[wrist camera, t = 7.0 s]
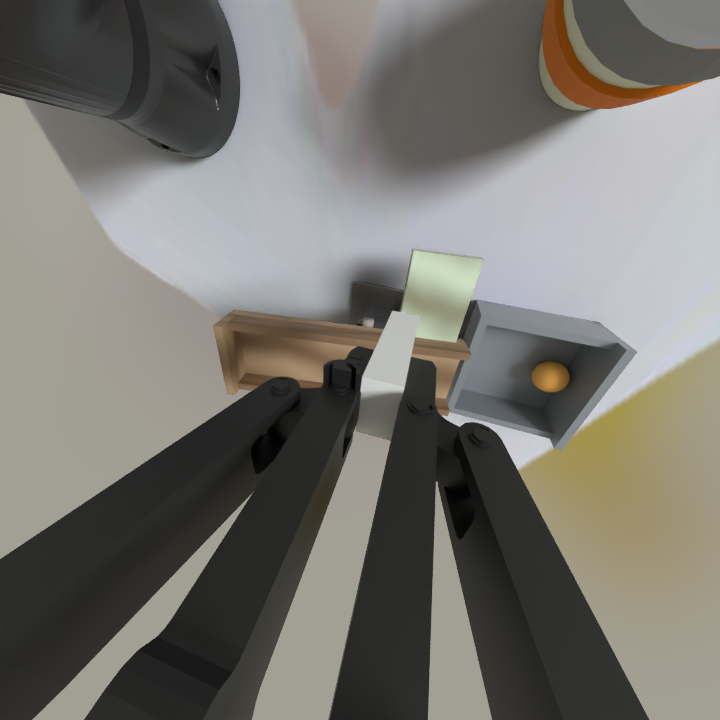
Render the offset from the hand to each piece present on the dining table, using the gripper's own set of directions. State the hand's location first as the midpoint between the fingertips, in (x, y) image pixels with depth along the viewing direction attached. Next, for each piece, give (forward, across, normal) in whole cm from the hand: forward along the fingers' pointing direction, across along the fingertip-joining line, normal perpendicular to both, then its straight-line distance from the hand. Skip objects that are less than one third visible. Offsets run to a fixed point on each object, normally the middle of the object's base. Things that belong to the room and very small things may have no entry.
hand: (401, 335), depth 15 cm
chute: (+12, -6, -5) cm, 14 cm away
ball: (+16, +17, -10) cm, 25 cm away
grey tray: (+19, +13, -10) cm, 25 cm away
